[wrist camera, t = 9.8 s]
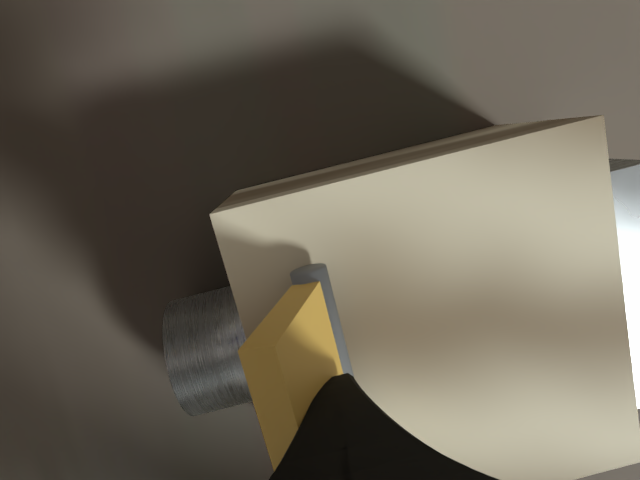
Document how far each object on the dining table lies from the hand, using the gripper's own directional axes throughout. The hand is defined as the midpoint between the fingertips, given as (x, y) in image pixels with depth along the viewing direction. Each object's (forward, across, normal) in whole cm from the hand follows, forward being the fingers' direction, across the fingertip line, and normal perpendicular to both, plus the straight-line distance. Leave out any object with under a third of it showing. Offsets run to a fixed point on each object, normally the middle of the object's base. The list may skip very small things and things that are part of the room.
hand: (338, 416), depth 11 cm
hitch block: (+8, -3, 0) cm, 9 cm away
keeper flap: (+1, 0, 0) cm, 1 cm away
